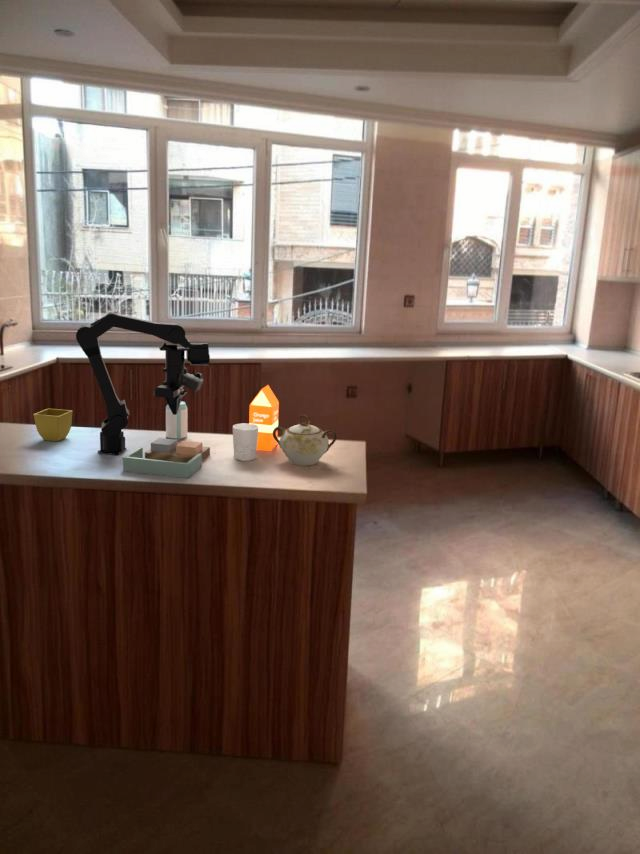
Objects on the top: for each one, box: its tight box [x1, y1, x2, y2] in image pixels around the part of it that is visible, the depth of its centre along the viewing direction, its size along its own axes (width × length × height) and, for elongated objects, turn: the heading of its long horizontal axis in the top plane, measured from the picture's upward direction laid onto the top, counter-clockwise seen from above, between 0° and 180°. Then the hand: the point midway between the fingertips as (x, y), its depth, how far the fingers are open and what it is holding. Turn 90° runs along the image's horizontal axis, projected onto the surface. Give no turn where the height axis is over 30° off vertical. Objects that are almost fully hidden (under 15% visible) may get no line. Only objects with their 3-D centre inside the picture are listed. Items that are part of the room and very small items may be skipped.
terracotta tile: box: [176, 440, 204, 456], centre depth 199 cm, size 6×6×2 cm
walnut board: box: [144, 445, 211, 463], centre depth 201 cm, size 16×12×2 cm
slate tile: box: [150, 437, 179, 453], centre depth 200 cm, size 6×6×2 cm
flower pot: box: [33, 408, 73, 442], centre depth 212 cm, size 9×9×9 cm
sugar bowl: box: [273, 414, 337, 467], centre depth 202 cm, size 20×15×15 cm
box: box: [122, 446, 203, 479], centre depth 190 cm, size 19×11×4 cm, turn 80°
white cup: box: [232, 422, 259, 462], centre depth 204 cm, size 8×8×10 cm
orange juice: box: [248, 384, 280, 452], centre depth 215 cm, size 8×9×20 cm
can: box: [165, 400, 188, 440], centre depth 221 cm, size 7×7×12 cm
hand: (175, 414), depth 206 cm, fingers closed
